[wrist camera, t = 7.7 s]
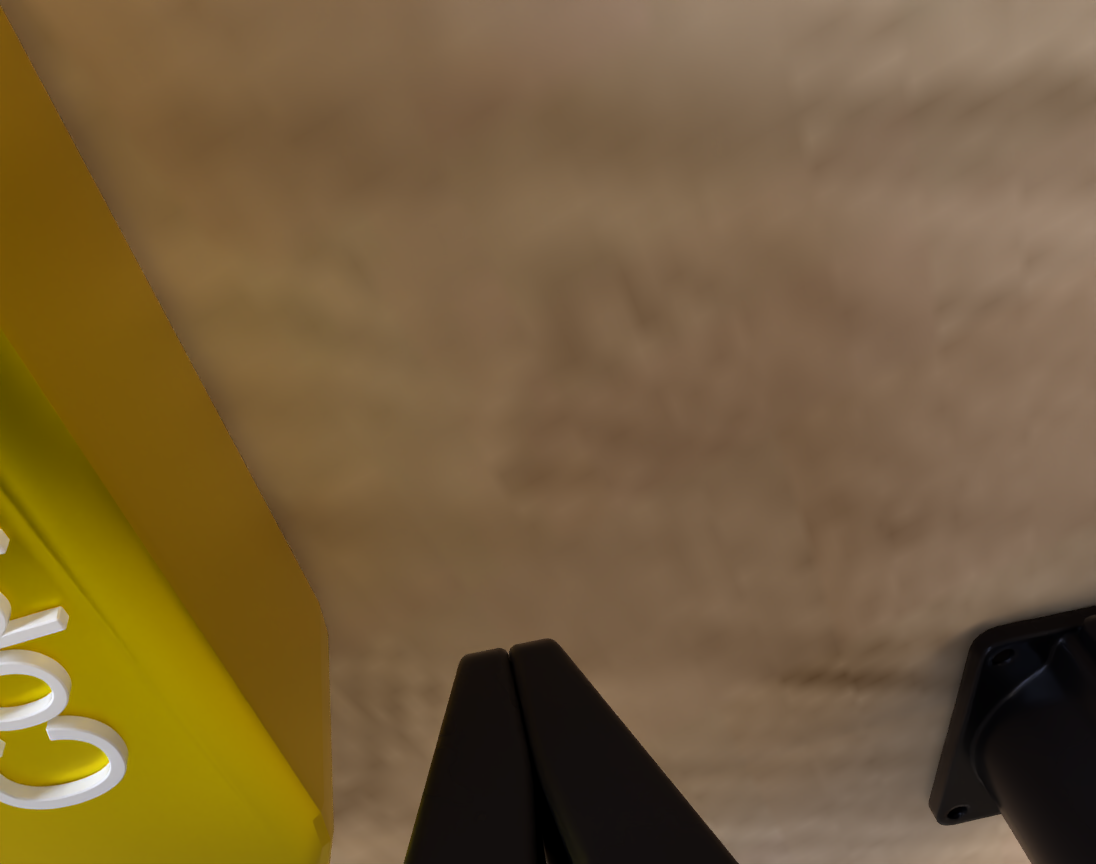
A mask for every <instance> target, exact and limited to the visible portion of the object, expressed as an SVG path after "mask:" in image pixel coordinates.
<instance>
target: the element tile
mask: <svg viewBox="0 0 1096 864" xmlns="http://www.w3.org/2000/svg"><path fill="white" fill-rule="evenodd" d="M333 833H334V819H333V784H332V749H331V714H330V679H329V644H328V632H327V628H326V625H325V622H324V618H323V615H322V611H321V608H320V605H319V602H318V600H317V598H316V596H315V594H314V592H313V591H312V589H311V587H310V585H309V583H308V581H307V579H306V577H305V576H304V574H303V572H302V570H301V568H300V566H299V564H298V562H297V561H296V559H295V557H294V555H293V553H292V551H291V549H290V547H289V546H288V544H287V542H286V540H285V538H284V536H283V534H282V532H281V530H280V529H279V527H278V525H277V523H276V521H275V519H274V517H273V515H272V514H271V512H270V510H269V508H268V506H267V504H266V502H265V500H264V499H263V497H262V495H261V493H260V491H259V489H258V487H257V485H256V484H255V482H254V480H253V478H252V476H251V474H250V472H249V470H248V469H247V467H246V465H245V463H244V461H243V459H242V457H241V455H240V454H239V452H238V450H237V448H236V446H235V444H234V442H233V440H232V439H231V437H230V435H229V433H228V431H227V429H226V427H225V425H224V424H223V422H222V420H221V418H220V416H219V414H218V412H217V410H216V409H215V407H214V405H213V403H212V401H211V399H210V397H209V395H208V394H207V392H206V390H205V388H204V386H203V384H202V382H201V380H200V379H199V377H198V375H197V373H196V371H195V369H194V367H193V365H192V364H191V362H190V360H189V358H188V356H187V354H186V352H185V350H184V349H183V347H182V345H181V343H180V341H179V339H178V337H177V335H176V333H175V332H174V330H173V328H172V326H171V324H170V322H169V320H168V318H167V317H166V315H165V313H164V311H163V309H162V307H161V305H160V303H159V302H158V300H157V298H156V296H155V294H154V292H153V290H152V288H151V287H150V285H149V283H148V281H147V279H146V277H145V275H144V273H143V272H142V270H141V268H140V266H139V264H138V262H137V260H136V258H135V257H134V255H133V253H132V251H131V249H130V247H129V245H128V243H127V242H126V240H125V238H124V236H123V234H122V232H121V230H120V228H119V227H118V225H117V223H116V221H115V219H114V217H113V215H112V213H111V212H110V210H109V208H108V206H107V204H106V202H105V200H104V198H103V197H102V195H101V193H100V191H99V189H98V187H97V185H96V183H95V182H94V180H93V178H92V176H91V174H90V172H89V170H88V168H87V167H86V165H85V163H84V161H83V159H82V157H81V155H80V153H79V151H78V150H77V148H76V146H75V144H74V142H73V140H72V138H71V136H70V135H69V133H68V131H67V129H66V127H65V125H64V123H63V121H62V120H61V118H60V116H59V114H58V112H57V110H56V108H55V106H54V105H53V103H52V101H51V99H50V97H49V95H48V93H47V91H46V90H45V88H44V86H43V84H42V82H41V80H40V78H39V76H38V75H37V73H36V71H35V69H34V67H33V65H32V63H31V61H30V60H29V58H28V56H27V54H26V52H25V50H24V48H23V46H22V45H21V43H20V41H19V39H18V37H17V35H16V33H15V31H14V30H13V28H12V26H11V24H10V22H9V20H8V18H7V16H6V15H5V13H4V11H3V9H2V7H1V5H0V864H330V858H331V849H332V841H333Z"/></svg>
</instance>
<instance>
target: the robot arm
mask: <svg viewBox="0 0 1096 864" xmlns="http://www.w3.org/2000/svg"><path fill="white" fill-rule="evenodd" d="M929 807H930V809H931V811H932V813H933V815H934V816H935V818H936V820H937V822H938V823H939V824H941V825H954V824H959V823H963V822H967V821H972V820H976V819H980V818H985V817H989V816H994V815H998V814H1002V815H1003V817H1004V819H1005V820H1006V822H1007V824H1008V825H1009V827H1010V829H1011V830H1012V832H1013V834H1014V835H1015V837H1016V839H1017V840H1018V842H1019V844H1020V845H1021V847H1022V849H1023V850H1024V852H1025V854H1026V855H1027V857H1028V859H1029V860H1030V862H1031V864H1096V606H1092V607H1088V608H1083V609H1078V610H1073V611H1069V612H1064V613H1059V614H1054V615H1050V616H1045V617H1040V618H1035V619H1030V620H1026V621H1021V622H1016V623H1011V624H1007V625H1002V626H997V627H995V628H992V629H989V630H987V631H985V632H984V633H982V634H980V635H979V636H978V637H977V638H976V639H975V640H974V641H973V643H972V645H971V647H970V650H969V654H968V657H967V661H966V665H965V669H964V672H963V676H962V680H961V684H960V687H959V691H958V695H957V698H956V702H955V706H954V710H953V713H952V717H951V721H950V725H949V728H948V732H947V736H946V740H945V743H944V747H943V751H942V754H941V758H940V762H939V766H938V769H937V773H936V777H935V781H934V784H933V788H932V792H931V795H930V799H929ZM546 861H547V862H546ZM404 864H738V862H737V861H736V860H735V859H734V857H733V856H732V855H731V854H730V853H729V851H728V850H727V849H726V848H725V846H724V845H723V844H722V843H721V842H720V840H719V839H718V838H717V837H716V835H715V834H714V833H713V832H712V831H711V829H710V828H709V827H708V826H707V824H706V823H705V822H704V821H703V820H702V818H701V817H700V816H699V815H698V813H697V812H696V811H695V810H694V809H693V807H692V806H691V805H690V804H689V803H688V801H687V800H686V799H685V798H684V796H683V795H682V794H681V793H680V792H679V790H678V789H677V788H676V787H675V785H674V784H673V783H672V782H671V781H670V779H669V778H668V777H667V776H666V774H665V773H664V772H663V771H662V770H661V768H660V767H659V766H658V765H657V763H656V762H655V761H654V760H653V759H652V757H651V756H650V755H649V754H648V752H647V751H646V750H645V749H644V748H643V746H642V745H641V744H640V743H639V741H638V740H637V739H636V738H635V737H634V735H633V734H632V733H631V732H630V730H629V729H628V728H627V727H626V726H625V724H624V723H623V722H622V721H621V719H620V718H619V717H618V716H617V715H616V713H615V712H614V711H613V710H612V709H611V707H610V706H609V705H608V704H607V702H606V701H605V700H604V699H603V698H602V696H601V695H600V694H599V693H598V691H597V690H596V689H595V688H594V687H593V685H592V684H591V683H590V682H589V680H588V679H587V678H586V677H585V676H584V674H583V673H582V672H581V671H580V669H579V668H578V667H577V666H576V665H575V663H574V662H573V661H572V660H571V658H570V657H569V656H568V655H567V654H566V652H565V651H564V650H563V649H562V647H561V646H560V645H559V644H558V643H557V642H555V641H554V640H552V639H541V640H536V641H531V642H526V643H521V644H516V645H514V646H513V647H512V648H511V649H510V651H509V655H508V652H507V651H506V650H504V649H502V648H496V649H491V650H486V651H481V652H476V653H471V654H467V655H465V656H464V657H463V658H462V659H461V661H460V663H459V665H458V668H457V672H456V676H455V679H454V683H453V687H452V690H451V694H450V697H449V701H448V705H447V708H446V712H445V716H444V719H443V723H442V726H441V730H440V734H439V737H438V741H437V745H436V748H435V752H434V755H433V759H432V763H431V766H430V770H429V774H428V777H427V781H426V784H425V788H424V792H423V795H422V799H421V802H420V806H419V810H418V813H417V817H416V821H415V824H414V828H413V831H412V835H411V839H410V842H409V846H408V850H407V853H406V857H405V860H404Z"/></svg>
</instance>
